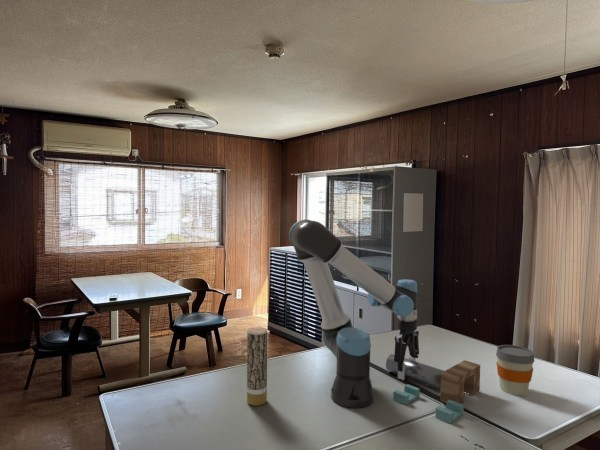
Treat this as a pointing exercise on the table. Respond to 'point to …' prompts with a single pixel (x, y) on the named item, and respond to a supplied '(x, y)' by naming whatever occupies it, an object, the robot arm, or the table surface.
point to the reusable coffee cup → (514, 368)
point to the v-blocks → (447, 414)
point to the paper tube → (256, 366)
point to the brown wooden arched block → (460, 381)
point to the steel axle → (417, 371)
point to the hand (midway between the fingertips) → (406, 375)
